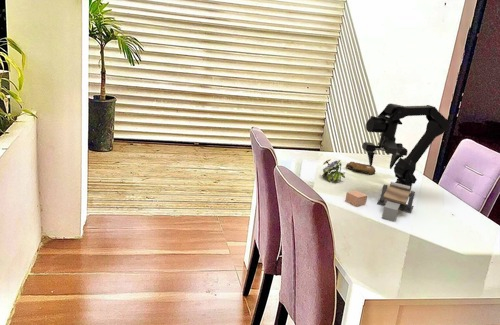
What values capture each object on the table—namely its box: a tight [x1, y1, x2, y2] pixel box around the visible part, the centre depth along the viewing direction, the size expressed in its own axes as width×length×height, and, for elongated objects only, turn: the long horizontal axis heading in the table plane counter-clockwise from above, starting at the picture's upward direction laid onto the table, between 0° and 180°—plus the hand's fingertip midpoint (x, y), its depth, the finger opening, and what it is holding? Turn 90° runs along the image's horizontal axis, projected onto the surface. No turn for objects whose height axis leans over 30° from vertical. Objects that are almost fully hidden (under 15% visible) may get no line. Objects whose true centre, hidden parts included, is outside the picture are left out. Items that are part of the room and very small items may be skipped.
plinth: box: [344, 190, 368, 207], centre depth 194 cm, size 6×6×4 cm
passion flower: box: [321, 158, 346, 183], centre depth 220 cm, size 11×11×12 cm
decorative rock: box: [346, 161, 376, 175], centre depth 240 cm, size 11×4×15 cm
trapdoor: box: [383, 181, 411, 205], centre depth 191 cm, size 13×9×2 cm
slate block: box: [381, 201, 400, 222], centre depth 184 cm, size 5×5×8 cm
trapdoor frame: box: [376, 183, 416, 214], centre depth 195 cm, size 7×14×8 cm, turn 65°
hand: (380, 167), depth 206 cm, fingers open, 9 cm apart
